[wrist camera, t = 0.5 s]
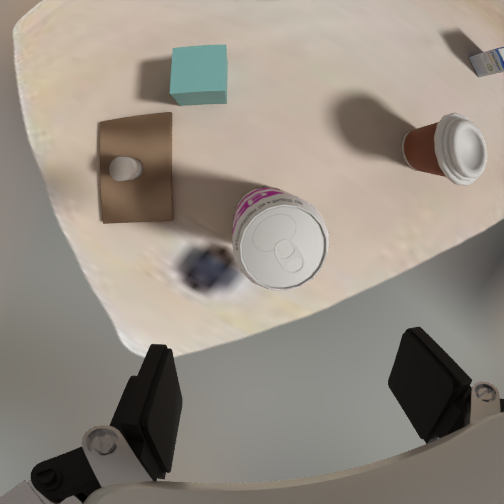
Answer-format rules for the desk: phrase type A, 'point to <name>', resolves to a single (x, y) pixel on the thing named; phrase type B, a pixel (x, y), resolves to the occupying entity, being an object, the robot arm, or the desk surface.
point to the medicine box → (488, 62)
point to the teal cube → (199, 75)
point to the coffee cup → (447, 149)
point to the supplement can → (278, 239)
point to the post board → (155, 171)
